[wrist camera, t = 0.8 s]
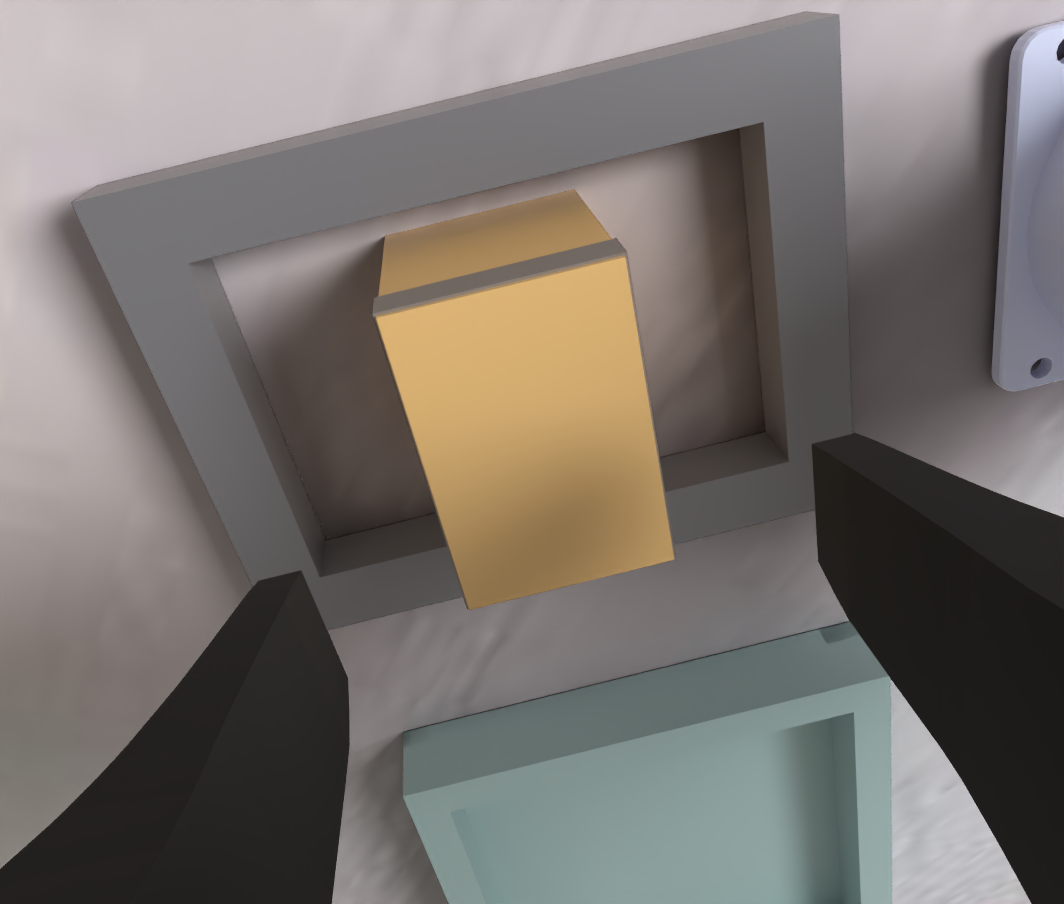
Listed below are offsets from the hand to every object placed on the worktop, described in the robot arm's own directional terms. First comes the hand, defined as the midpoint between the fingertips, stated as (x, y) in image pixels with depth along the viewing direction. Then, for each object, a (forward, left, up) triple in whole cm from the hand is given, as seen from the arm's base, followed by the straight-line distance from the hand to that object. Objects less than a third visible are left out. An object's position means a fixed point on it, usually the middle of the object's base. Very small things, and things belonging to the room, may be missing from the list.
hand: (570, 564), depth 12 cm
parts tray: (-1, +17, -8) cm, 19 cm away
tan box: (0, 0, -8) cm, 8 cm away
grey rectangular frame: (0, 0, -8) cm, 8 cm away
